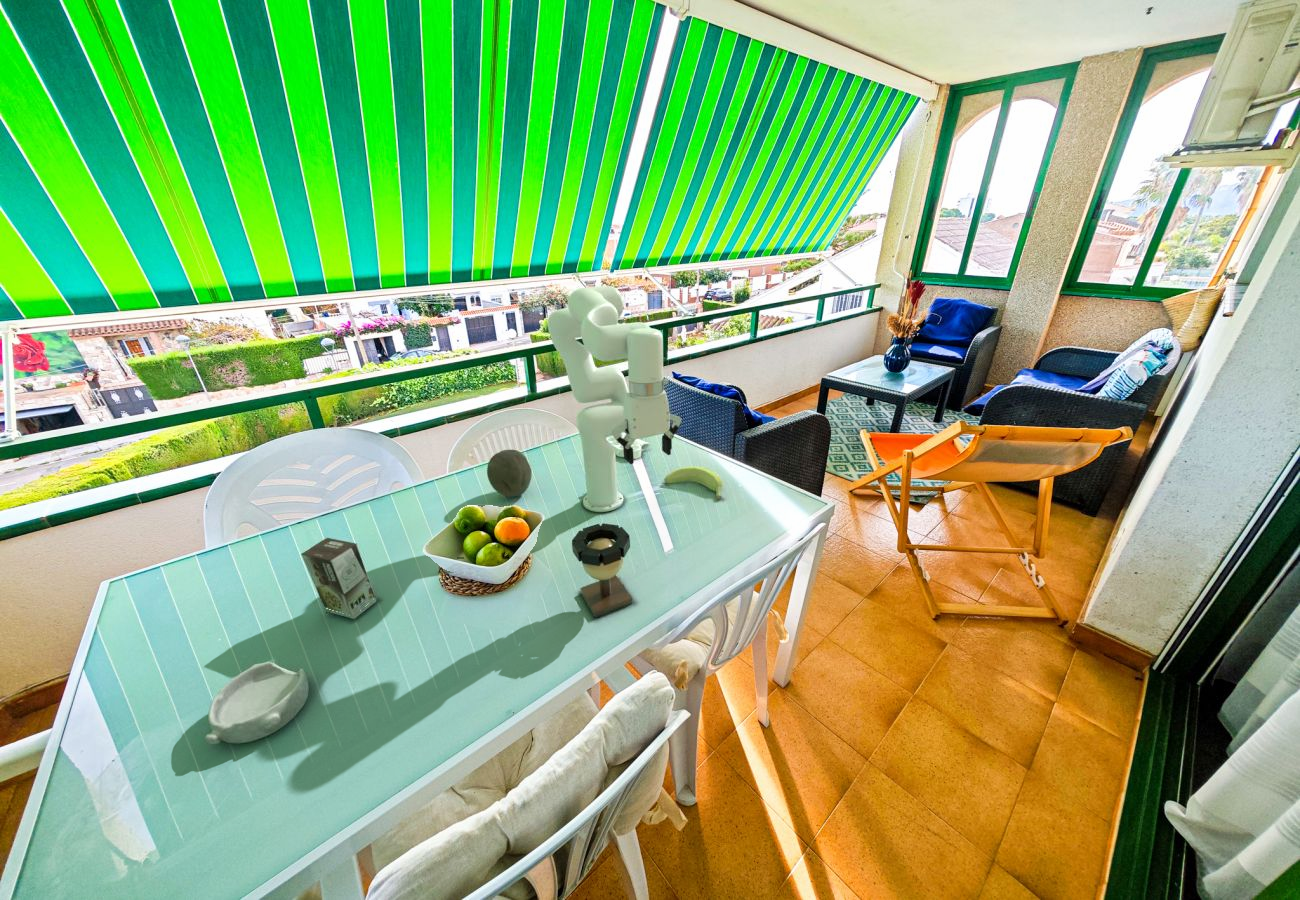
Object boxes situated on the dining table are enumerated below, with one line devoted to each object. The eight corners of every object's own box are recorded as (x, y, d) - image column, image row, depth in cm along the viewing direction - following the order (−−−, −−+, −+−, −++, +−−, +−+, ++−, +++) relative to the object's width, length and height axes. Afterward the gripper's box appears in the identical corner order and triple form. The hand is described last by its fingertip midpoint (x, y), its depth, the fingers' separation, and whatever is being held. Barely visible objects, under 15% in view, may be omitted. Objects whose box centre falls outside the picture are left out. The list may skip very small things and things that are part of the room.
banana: (693, 454, 157) (733, 482, 143) (695, 466, 160) (734, 495, 146) (661, 473, 152) (699, 505, 138) (664, 485, 155) (701, 517, 141)
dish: (253, 679, 88) (243, 660, 85) (328, 672, 88) (320, 654, 86) (190, 756, 74) (176, 736, 72) (280, 747, 75) (268, 727, 73)
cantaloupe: (544, 489, 152) (538, 448, 146) (511, 509, 142) (503, 465, 135) (514, 479, 159) (507, 440, 153) (481, 497, 149) (472, 456, 143)
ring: (566, 542, 101) (565, 533, 100) (615, 527, 106) (614, 518, 105) (585, 572, 92) (584, 562, 91) (638, 553, 97) (637, 544, 96)
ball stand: (580, 592, 107) (574, 537, 100) (616, 579, 110) (611, 525, 104) (595, 617, 99) (589, 560, 93) (632, 603, 103) (629, 546, 97)
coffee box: (378, 600, 106) (357, 543, 100) (353, 620, 101) (330, 561, 94) (349, 592, 109) (327, 536, 103) (324, 611, 104) (299, 553, 97)
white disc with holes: (655, 451, 178) (626, 463, 169) (625, 438, 190) (597, 449, 181) (655, 443, 176) (626, 454, 167) (625, 431, 188) (596, 441, 180)
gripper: (672, 377, 106) (672, 444, 114) (603, 388, 100) (608, 459, 107) (689, 385, 100) (688, 455, 108) (616, 398, 94) (620, 472, 101)
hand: (648, 457), depth 107 cm, fingers open, 9 cm apart
